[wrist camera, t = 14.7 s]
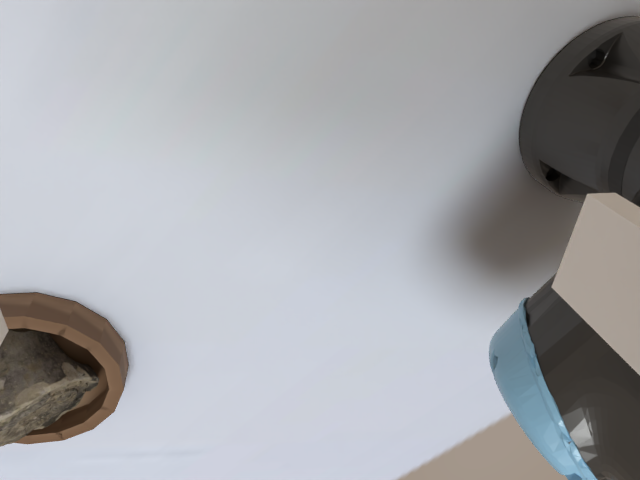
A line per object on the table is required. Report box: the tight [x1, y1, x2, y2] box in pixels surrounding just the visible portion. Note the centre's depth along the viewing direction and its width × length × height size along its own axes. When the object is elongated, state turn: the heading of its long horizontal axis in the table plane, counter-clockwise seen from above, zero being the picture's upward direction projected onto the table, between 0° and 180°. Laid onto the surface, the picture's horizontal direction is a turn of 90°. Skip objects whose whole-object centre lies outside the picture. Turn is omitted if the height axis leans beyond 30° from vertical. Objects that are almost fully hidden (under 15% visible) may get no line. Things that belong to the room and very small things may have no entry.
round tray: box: [0, 293, 129, 444], centre depth 41 cm, size 15×15×3 cm
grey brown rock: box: [0, 328, 99, 447], centre depth 39 cm, size 11×9×10 cm
